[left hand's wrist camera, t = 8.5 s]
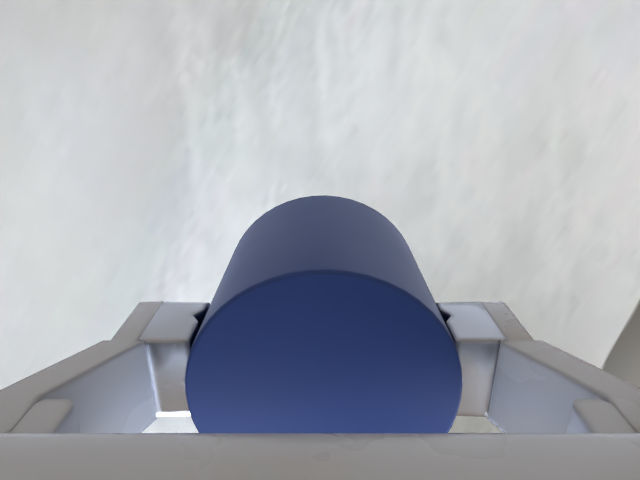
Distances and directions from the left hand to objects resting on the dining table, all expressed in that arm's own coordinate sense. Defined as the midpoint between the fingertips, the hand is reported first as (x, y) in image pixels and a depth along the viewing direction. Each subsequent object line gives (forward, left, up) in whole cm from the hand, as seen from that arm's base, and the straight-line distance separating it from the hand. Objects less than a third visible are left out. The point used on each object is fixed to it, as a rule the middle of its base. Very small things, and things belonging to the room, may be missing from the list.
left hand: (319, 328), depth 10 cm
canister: (0, 0, -2) cm, 2 cm away
